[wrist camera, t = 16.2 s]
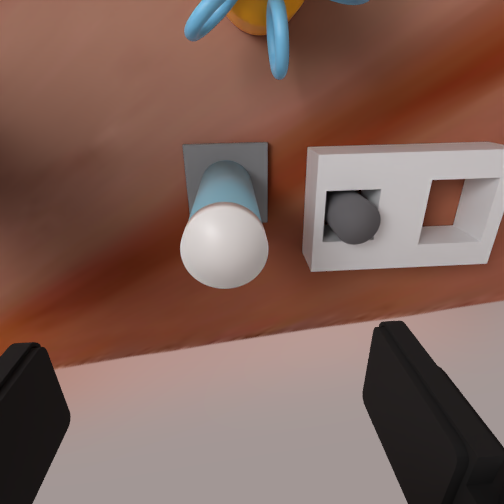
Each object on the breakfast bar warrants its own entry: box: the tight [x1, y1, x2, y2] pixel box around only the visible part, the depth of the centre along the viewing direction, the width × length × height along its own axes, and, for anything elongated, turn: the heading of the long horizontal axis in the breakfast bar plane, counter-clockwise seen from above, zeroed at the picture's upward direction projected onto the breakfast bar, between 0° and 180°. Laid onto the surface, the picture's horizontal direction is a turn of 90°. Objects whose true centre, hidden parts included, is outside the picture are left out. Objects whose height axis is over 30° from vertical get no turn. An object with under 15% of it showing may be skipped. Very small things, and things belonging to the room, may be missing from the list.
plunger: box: [324, 190, 381, 245], centre depth 28 cm, size 4×4×5 cm
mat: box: [182, 142, 268, 222], centre depth 29 cm, size 7×7×1 cm
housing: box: [302, 142, 504, 272], centre depth 29 cm, size 16×10×4 cm, turn 91°
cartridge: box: [180, 160, 268, 289], centre depth 23 cm, size 4×4×13 cm
